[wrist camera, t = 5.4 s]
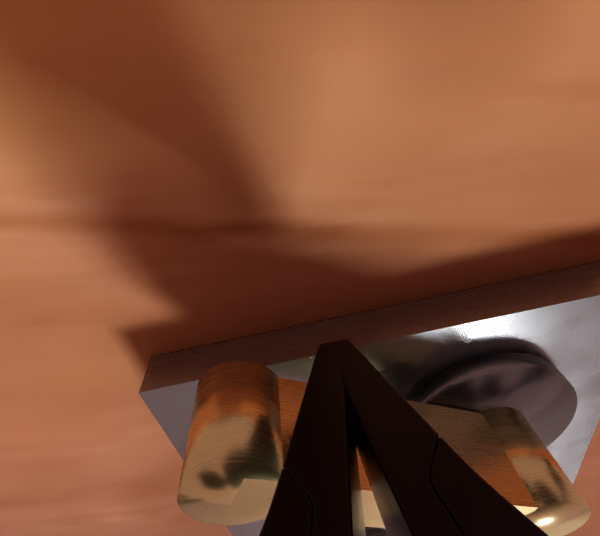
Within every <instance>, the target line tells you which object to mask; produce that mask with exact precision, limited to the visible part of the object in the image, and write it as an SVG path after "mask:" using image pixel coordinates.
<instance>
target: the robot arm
mask: <svg viewBox="0 0 600 536" xmlns="http://www.w3.org/2000/svg"><path fill="white" fill-rule="evenodd" d="M356 447H357V448H356ZM357 450H358V452H359V455H360V458H361V461H362V464H363V467H364V469H365V472H366V475H367V478H368V481H369V484H370V486H371V489H372V492H373V495H374V498H375V500H376V503H377V506H378V509H379V512H380V515H381V517H382V520H383V523H384V526H385V529H386V532H387V534H388V536H548V535H547V534H546V533H545V532H544V531H543V530H541V529H540V528H539V527H538V526H537V525H536V524H534V523H533V522H532V521H531V520H530V519H529V518H527V517H526V516H525V515H524V514H523V513H522V512H520V511H519V510H518V509H517V508H516V507H515V506H513V505H512V504H511V503H510V502H509V501H508V500H506V499H505V498H504V497H503V496H502V495H501V494H500V493H498V492H497V491H496V490H495V489H494V488H493V487H492V486H491V485H490V484H488V483H487V482H486V481H485V480H484V479H483V478H482V477H481V476H480V475H478V474H477V473H476V472H475V471H474V470H473V469H472V468H471V467H470V466H469V465H468V464H467V463H466V462H465V461H464V460H463V459H462V458H461V457H460V456H459V455H458V454H457V453H456V452H455V451H454V450H453V449H452V448H451V447H450V446H449V445H448V444H447V442H446V441H445V440H444V439H443V438H441V437H440V438H439V434H438V433H437V432H436V431H435V430H434V429H433V428H432V427H431V426H430V425H429V424H428V423H427V422H426V421H425V420H424V418H423V417H422V416H421V415H420V414H419V413H418V412H417V411H416V410H415V409H414V408H413V407H412V406H411V405H410V404H409V403H408V402H407V401H406V399H405V398H404V397H403V396H402V395H401V394H400V393H399V392H398V391H397V390H396V389H395V388H394V387H393V386H392V385H391V384H390V383H389V382H388V380H387V379H386V378H385V377H384V376H383V375H382V374H381V373H380V372H379V371H378V370H377V369H376V368H375V367H374V366H373V365H372V364H371V363H370V362H369V360H368V359H367V358H366V357H365V356H364V355H363V354H362V353H361V352H360V351H359V350H358V349H357V348H356V347H355V346H354V345H353V344H352V343H351V341H350V340H348V339H342V340H337V341H333V342H328V343H323V344H320V345H319V346H318V349H317V352H316V356H315V359H314V362H313V366H312V369H311V372H310V376H309V379H308V383H307V386H306V389H305V393H304V396H303V399H302V403H301V406H300V410H299V413H298V416H297V420H296V423H295V426H294V430H293V433H292V437H291V440H290V443H289V447H288V450H287V453H286V457H285V460H284V464H283V469H282V470H281V473H280V476H279V480H278V483H277V487H276V490H275V493H274V496H273V499H272V502H271V505H270V508H269V511H268V514H267V516H266V519H265V521H264V524H263V527H262V529H261V532H260V534H259V536H366V532H365V522H364V513H363V504H362V494H361V485H360V476H359V466H358V457H357Z"/></svg>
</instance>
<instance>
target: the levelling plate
mask: <svg viewBox="0 0 600 536" xmlns="http://www.w3.org/2000/svg"><path fill="white" fill-rule="evenodd" d="M342 339H348V340H350V341H351V343H352V344H353V345H354V346H355V347H356V348H357V349H358V350H359V351H360V352H361V353H362V354H363V355H364V356H365V357H366V358H367V359H368V360H369V362H370V363H371V364H372V365H373V366H374V367H375V368H376V369H377V370H378V371H379V372H380V373H381V374H382V375H383V376H384V377H385V378H386V379H387V380H388V382H389V383H390V384H391V385H392V386H393V387H394V388H395V389H396V390H397V391H398V392H399V393H400V394H401V395H402V396H403V397H404V398H405V399H406V400H409V401H410V400H411V399H412V397H413V396H414V395H415V394H416V393H417V392H418V391H419V390H420V389H421V388H422V387H423V386H424V385H425V384H427V383H428V382H429V381H430V380H432V379H433V378H435V377H436V376H438V375H439V374H441V373H442V372H444V371H446V370H448V369H450V368H452V367H454V366H456V365H459V364H461V363H463V362H466V361H469V360H472V359H475V358H478V357H483V356H487V355H492V354H499V353H525V354H531V355H535V356H538V357H541V358H543V359H545V360H547V361H549V362H550V363H552V364H553V365H554V366H555V367H556V368H557V369H558V370H559V371H560V372H561V373H562V375H563V376H564V377H565V378H566V379H567V380H568V381H569V382H570V384H571V385H572V386H573V387H574V389H575V391H576V394H577V408H576V412H575V415H574V417H573V419H572V421H571V422H570V424H569V425H568V427H567V428H566V429H565V431H564V432H563V433H562V434H561V435H560V436H559V437H558V438H557V439H556V440H555V441H554V442H552V443H551V444H550V445H549V446H547V449H548V450H549V452H550V453H551V454H552V456H553V457H554V459H555V460H556V461H557V463H558V464H559V466H560V467H561V469H562V470H563V471H564V473H565V474H566V476H567V477H568V478H569V480H570V481H571V483H572V484H573V483H574V480H575V478H576V475H577V473H578V470H579V468H580V465H581V463H582V460H583V458H584V455H585V453H586V450H587V448H588V445H589V443H590V440H591V438H592V435H593V433H594V431H595V428H596V426H597V423H598V421H599V418H600V262H595V263H590V264H586V265H581V266H576V267H572V268H567V269H562V270H557V271H553V272H548V273H543V274H539V275H534V276H529V277H525V278H520V279H515V280H511V281H506V282H501V283H497V284H492V285H487V286H482V287H478V288H473V289H468V290H464V291H459V292H454V293H450V294H445V295H440V296H436V297H431V298H426V299H422V300H417V301H412V302H408V303H403V304H398V305H393V306H389V307H384V308H379V309H375V310H370V311H365V312H361V313H356V314H351V315H347V316H342V317H337V318H333V319H328V320H323V321H319V322H314V323H309V324H304V325H300V326H295V327H290V328H286V329H281V330H276V331H272V332H267V333H262V334H258V335H253V336H248V337H244V338H239V339H234V340H230V341H225V342H220V343H215V344H211V345H206V346H201V347H197V348H192V349H187V350H183V351H178V352H173V353H169V354H164V355H159V356H155V357H151V358H150V361H149V364H148V367H147V370H146V373H145V376H144V379H143V382H142V385H141V388H140V391H139V394H140V395H141V397H142V398H143V400H144V401H145V403H146V404H147V406H148V407H149V409H150V410H151V412H152V413H153V415H154V416H155V418H156V419H157V421H158V422H159V424H160V425H161V427H162V428H163V430H164V431H165V433H166V434H167V436H168V437H169V439H170V441H171V442H172V444H173V445H174V447H175V448H176V450H177V451H178V453H179V454H180V456H181V457H182V459H183V460H184V456H185V451H186V445H187V439H188V434H189V428H190V423H191V417H192V411H193V406H194V400H195V394H196V389H197V384H198V382H199V380H200V378H201V377H202V376H203V375H204V373H206V372H207V371H208V370H210V369H211V368H213V367H215V366H217V365H220V364H222V363H226V362H232V361H249V362H254V363H258V364H261V365H263V366H265V367H267V368H269V369H271V370H272V371H273V372H274V373H275V374H276V375H277V376H278V377H279V378H284V379H290V380H296V381H301V382H307V383H308V379H309V376H310V372H311V369H312V366H313V362H314V359H315V356H316V352H317V349H318V346H319V345H320V344H323V343H328V342H333V341H337V340H342ZM264 521H265V519H262V520H259V521H256V522H252V523H247V524H240V525H227V527H228V528H229V530H230V532H231V533H232V535H233V536H259V534H260V532H261V529H262V527H263V524H264Z"/></svg>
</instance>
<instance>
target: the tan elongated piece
mask: <svg viewBox="0 0 600 536" xmlns="http://www.w3.org/2000/svg"><path fill="white" fill-rule="evenodd" d="M306 386H307V382H301V381H296V380H290V379H284V378H279V377H278V376H277V375H276V374H275V373H274V372H273V371H272V370H271V369H269V368H267V367H265V366H263V365H261V364H258V363H254V362H249V361H232V362H226V363H222V364H220V365H217V366H215V367H213V368H211V369H210V370H208V371H207V372H206V373H204V375H203V376H202V377H201V378H200V380H199V382H198V384H197V389H196V394H195V400H194V406H193V411H192V417H191V423H190V428H189V434H188V439H187V445H186V451H185V456H184V462H183V468H182V473H181V479H180V485H179V490H178V496H177V502H178V505H179V507H180V509H181V510H182V511H183V512H184V513H185V514H186V515H188V516H190V517H191V518H193V519H196V520H198V521H201V522H205V523H209V524H215V525H240V524H247V523H252V522H256V521H259V520H262V519H266V516H267V514H268V511H269V508H270V505H271V502H272V499H273V496H274V493H275V490H276V487H277V483H278V480H279V476H280V473H281V470H282V469H283V464H284V460H285V457H286V453H287V450H288V447H289V443H290V440H291V437H292V433H293V430H294V426H295V423H296V420H297V416H298V413H299V410H300V406H301V403H302V399H303V396H304V393H305V389H306ZM406 401H407V402H408V403H409V404H410V405H411V406H412V407H413V408H414V409H415V410H416V411H417V412H418V413H419V414H420V415H421V416H422V417H423V418H424V420H425V421H426V422H427V423H428V424H429V425H430V426H431V427H432V428H433V429H434V430H435V431H436V432H437V433H438V434H439V438H440V437H441V438H443V439H444V440H445V441H446V442H447V444H448V445H449V446H450V447H451V448H452V449H453V450H454V451H455V452H456V453H457V454H458V455H459V456H460V457H461V458H462V459H463V460H464V461H465V462H466V463H467V464H468V465H469V466H470V467H471V468H472V469H473V470H474V471H475V472H476V473H477V474H478V475H480V476H481V477H482V478H483V479H484V480H485V481H486V482H487V483H488V484H490V485H491V486H492V487H493V488H494V489H495V490H496V491H497V492H498V493H500V494H501V495H502V496H503V497H504V498H505V499H506V500H508V501H509V502H510V503H511V504H512V505H513V506H515V507H516V508H517V509H518V510H519V511H520V512H522V513H523V514H524V515H525V516H526V517H527V518H529V519H530V520H531V521H532V522H533V523H534V524H536V525H537V526H538V527H539V528H540V529H541V530H543V531H544V532H545V533H546V534H547V535H548V536H565V535H567V534H569V533H571V532H573V531H574V530H576V529H578V528H579V527H580V526H582V525H583V524H584V523H585V522H586V521H587V520H588V519H589V517H590V515H591V510H590V508H589V507H588V505H587V504H586V503H585V501H584V500H583V498H582V497H581V495H580V494H579V493H578V491H577V490H576V488H575V487H574V486H573V484H572V483H571V481H570V480H569V478H568V477H567V476H566V474H565V473H564V471H563V470H562V469H561V467H560V466H559V464H558V463H557V461H556V460H555V459H554V457H553V456H552V454H551V453H550V452H549V450H548V449H547V446H549V445H550V444H551V443H552V442H554V441H555V440H556V439H557V438H558V437H559V436H560V435H561V434H562V433H563V432H564V431H565V429H566V428H567V427H568V425H569V424H570V422H571V421H572V419H573V417H574V415H575V412H576V408H577V394H576V391H575V389H574V387H573V386H572V385H571V384H570V382H569V381H568V380H567V379H566V378H565V377H564V376H563V375H562V373H561V372H560V371H559V370H558V369H557V368H556V367H555V366H554V365H553V364H552V363H550V362H549V361H547V360H545V359H543V358H541V357H538V356H535V355H531V354H525V353H499V354H492V355H487V356H483V357H478V358H475V359H472V360H469V361H466V362H463V363H461V364H459V365H456V366H454V367H452V368H450V369H448V370H446V371H444V372H442V373H441V374H439V375H438V376H436V377H435V378H433V379H432V380H430V381H429V382H428V383H427V384H425V385H424V386H423V387H422V388H421V389H420V390H419V391H418V392H417V393H416V394H415V395H414V396H413V397H412V399H411V400H410V401H409V400H406ZM356 448H357V447H356ZM357 457H358V466H359V476H360V485H361V494H362V504H363V513H364V522H365V527H378V528H385V526H384V523H383V520H382V517H381V515H380V512H379V509H378V506H377V503H376V500H375V498H374V495H373V492H372V489H371V486H370V484H369V481H368V478H367V475H366V472H365V469H364V467H363V464H362V461H361V458H360V455H359V452H358V450H357Z"/></svg>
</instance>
